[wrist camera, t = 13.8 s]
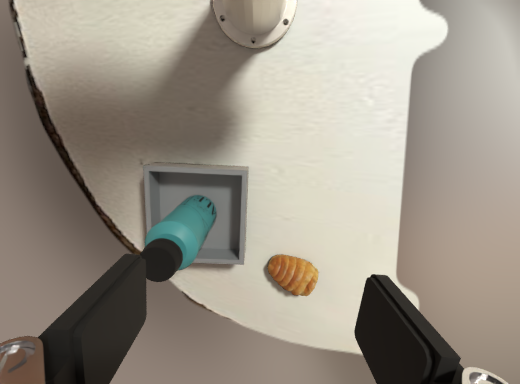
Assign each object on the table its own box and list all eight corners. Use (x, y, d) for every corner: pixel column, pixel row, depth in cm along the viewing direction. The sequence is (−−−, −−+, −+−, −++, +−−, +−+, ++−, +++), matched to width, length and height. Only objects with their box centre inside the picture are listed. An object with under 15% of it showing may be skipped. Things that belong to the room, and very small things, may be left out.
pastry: (260, 273, 48) (261, 284, 45) (277, 244, 47) (279, 253, 43) (302, 293, 49) (306, 305, 46) (320, 265, 48) (325, 275, 45)
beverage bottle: (179, 221, 45) (116, 287, 25) (187, 186, 43) (128, 227, 24) (214, 231, 45) (179, 304, 25) (224, 196, 44) (195, 246, 24)
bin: (156, 162, 43) (143, 165, 38) (248, 166, 44) (247, 170, 39) (159, 247, 47) (148, 260, 42) (245, 251, 47) (243, 264, 42)
